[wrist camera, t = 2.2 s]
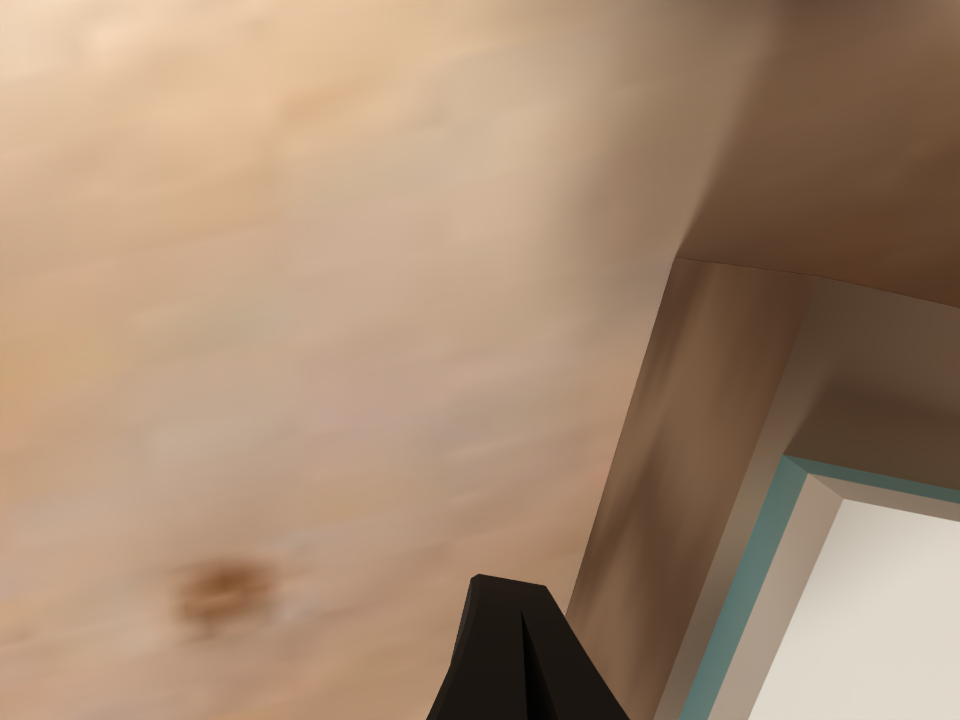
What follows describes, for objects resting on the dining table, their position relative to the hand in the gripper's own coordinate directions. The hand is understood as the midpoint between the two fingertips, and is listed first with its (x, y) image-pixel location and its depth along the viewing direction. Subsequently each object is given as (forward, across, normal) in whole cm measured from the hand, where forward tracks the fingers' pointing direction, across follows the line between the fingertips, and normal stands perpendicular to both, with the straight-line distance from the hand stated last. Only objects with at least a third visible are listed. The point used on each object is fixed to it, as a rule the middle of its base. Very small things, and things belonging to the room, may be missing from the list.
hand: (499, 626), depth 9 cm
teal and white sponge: (0, -7, 0) cm, 7 cm away
